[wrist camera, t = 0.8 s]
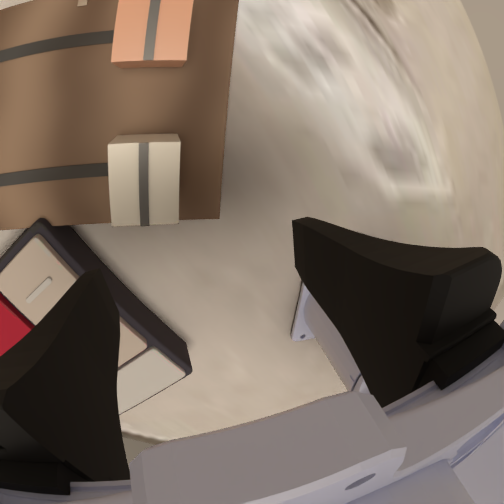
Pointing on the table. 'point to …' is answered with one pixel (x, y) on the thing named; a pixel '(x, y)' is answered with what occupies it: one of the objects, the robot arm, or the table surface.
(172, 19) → the terracotta fader
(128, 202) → the ivory fader
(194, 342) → the table surface
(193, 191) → the mixer panel
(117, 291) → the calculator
